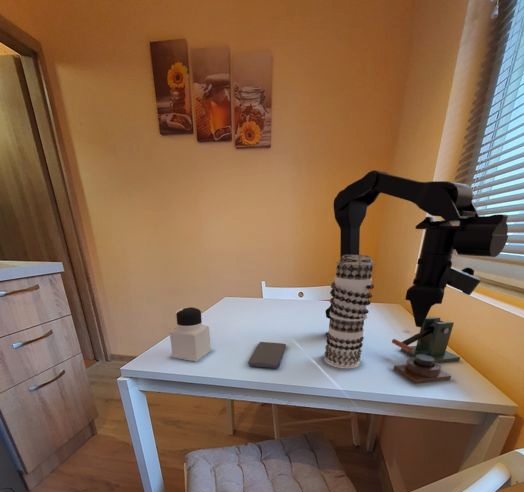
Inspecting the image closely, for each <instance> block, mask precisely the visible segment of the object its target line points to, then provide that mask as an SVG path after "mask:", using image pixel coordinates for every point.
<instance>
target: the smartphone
mask: <svg viewBox="0 0 524 492" xmlns="http://www.w3.org/2000/svg"><path fill="white" fill-rule="evenodd" d="M286 347H287V344H286V343H281V342H271V341H260V342H259V343H258V345H257V346H256V348H255V349H254V351H253V352H252V355H251V356H250V358H249V359H248V361H247V365H248V366H250V367H258V368H259V367H262V368H271V369H278V368H280V365H281V362H282V359H283V356H284V353H285V351H286Z"/></svg>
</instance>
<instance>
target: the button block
mask: <svg viewBox="0 0 524 492" xmlns="http://www.w3.org/2000/svg"><path fill="white" fill-rule="evenodd" d="M415 358H416V357H409V358H407V360H406V362H405V364H398V365H393V371H395V372H397V373H398V374H400V375H401V376H403V378H405V379H407V380H408V381H410V382H411V383H413V384H414V385H418V384H419V385H420V384H427V383H433V382H435V383H436V382H443V381H450V380H451V377H452V375H451V374H449V373H447V372H445V371H443V370H442V366H441V364H440V363H437V362H435V361H434V363H433V367H430V368H428V367H422V366H418V365H416V364H415V363H414V362H415Z"/></svg>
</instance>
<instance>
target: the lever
mask: <svg viewBox="0 0 524 492" xmlns="http://www.w3.org/2000/svg"><path fill="white" fill-rule="evenodd" d="M437 322H444V321H443V320H441V319H440V320H438V319H437V320H435V321H433V322H431V323H429V324H428V329H426V330H424V331H422V332H420V331H419V332H418V333H417V334H414V335H412V336H410V337H409V338H407V339H405V340H403V341H399V340H398V339H396V338H393V339H392V340H391V343H392V344H393V345H395V346H397V347H399V348H400V349H401V348H402V349H404V350H406V351H408V352H411V351H412V348H411V347H410V346H409V345H411V344H413V343H415V342H417V341H418V340H419V339H421V338H423V337H425V336H427V335H428V334H430V333H432V334H433V331H434V328H435V324H436V323H437Z"/></svg>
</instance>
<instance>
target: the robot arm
mask: <svg viewBox="0 0 524 492" xmlns="http://www.w3.org/2000/svg"><path fill="white" fill-rule="evenodd" d="M381 193H382V194H384V195H387V196H391V197H395V198H397V199H400V200H404V201H408V202H411V203H412V204H415V206H416V207H418V208H419V210H422V211H423V212H425V213H427V214H428V215H430V216H425V217H424V219H423V220H422V221H420V222H419V223H418V224H416V225H415V227H414V228H415V229H416V230H424V235H423V240H422V244H421V249H420V253H419V257H418V258H417V262H416V264H417V267H416V271H415V277H414V279H413V281H412V285H411V286H409V287H408V289H407V290H406V294H405V298H404V299H405V300H406V301H409V302H410V308H411V312H412V316H413V320H414V324H415V326H416V327H417V328H421V327H422V325H423V323H424V321H425V318H427V317H428V314H429V312H430V310H431V309H432V307H433V306H435V305H442V303H443V299H444V296H445V289H446V288H447V285H448V286H450V287H452V288H454V289H456V290H458V291H461V292H462V293H463V294H464V295H468V296H471V295H472V293H473V292H474V291H475V289H476V288H477V287H478V286H479V285H480V283H481V282H482V279H481V278H480V277H478V276H477V275H475V269H474V268H472V267H469V266H465V267H464V268H462V269H459V268H456V267H455V266H452V265H453V260H452V258H453V254H454V250H455V251H456V254H457V255H459V256H467V257H468V256H471V257H485V258H496V257H498V256H499V255H500V254H501V253H502V251H503V250H504V248H505V246H506V244H507V241H508V238H509V235H508V233H509V232H508V231H509V225H508V223H507V221H508V218H509V215H508V214H503V213H501V214H492V215H484V216H483V215H481V216H480V213H479V212H478V210H477V208H476V205H474V202H473V199H474V198H473V197H474V192H473V188H472V187H471V186H470V185H468V184H465V183H460V182H454V181H449V180H448V181H446V180H445V181H442V180H441V181H436V180H435V181H420V180H415V179H411V178H406V177H402V176H398V175H395V174H394V175H393V174H391V173H390V174H389V173H388V172H386V171H381V170H375V169H373V170H371V171H368V172H367V173H366V174H365V175H364V176H363V177H361V178H360V179H358V180H356V181H354V182H352V183H350V184H348V185H346V187H345V188H344V189H341V190H340V191H339V192H338V193H337V195H336V196H335V197H334V199H333V213H334V219H335V221H336V223H337V225H338V227H339V229H340V243H339V244H340V245H339V246H340V247H339V248H340V251H339V252H340V255H339V256H340V257H339V260H340V259H341V257H342V256H344V255H360V242H361V240H360V239H361V238H360V237H361V236H360V235H361V226H362V225H363V222H364V220H365V218H366V216H367V210H368V207H370V206H371V205H372V204H373V203H375V201H377V199H378V197H379V196H380V194H381ZM434 217H441V218H442V219H443V220H442V219H441V220H438V219H437V220H436V219H435V218H434ZM453 222H456V223H459V224H458V225H452V223H453ZM330 312H331V311H330V309H329V307H327V308H326V309H325V317H326V319H329V325H330V323H331V316H330ZM329 325H328V326H329ZM328 332H329V331H328ZM328 332H327V331H326V332H325V335H326V336H327V333H328Z"/></svg>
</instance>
